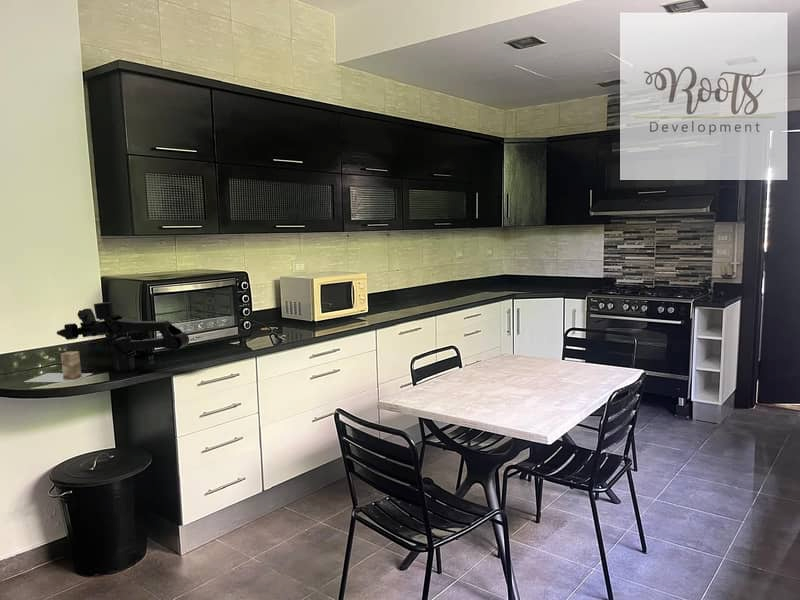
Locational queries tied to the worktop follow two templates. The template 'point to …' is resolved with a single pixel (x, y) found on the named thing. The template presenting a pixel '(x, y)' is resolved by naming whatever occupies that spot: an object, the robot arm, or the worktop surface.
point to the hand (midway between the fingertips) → (65, 331)
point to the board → (55, 378)
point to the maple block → (71, 365)
